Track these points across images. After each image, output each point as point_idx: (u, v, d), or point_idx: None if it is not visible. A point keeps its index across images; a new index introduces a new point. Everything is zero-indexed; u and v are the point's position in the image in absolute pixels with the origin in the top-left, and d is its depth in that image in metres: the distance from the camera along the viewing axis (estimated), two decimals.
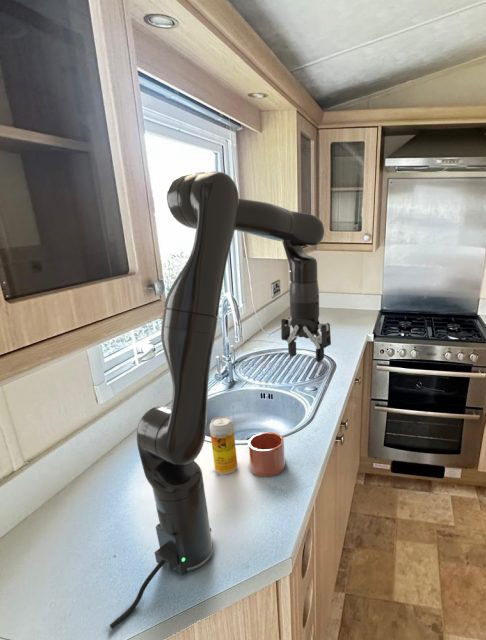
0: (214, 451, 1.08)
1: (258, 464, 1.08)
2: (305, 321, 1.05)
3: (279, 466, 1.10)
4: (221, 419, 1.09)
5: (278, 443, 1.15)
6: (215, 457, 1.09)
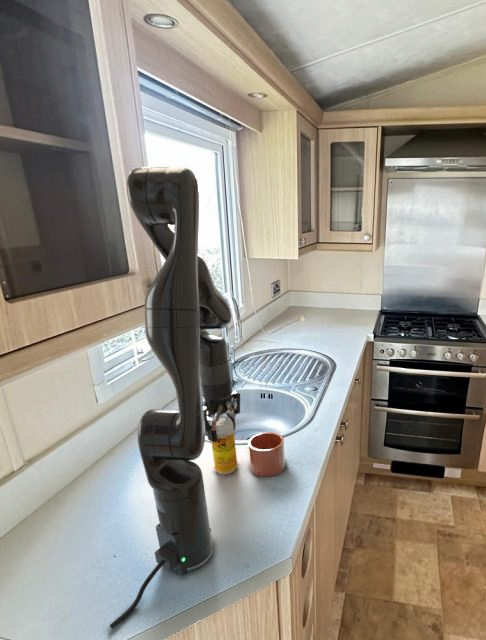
0: (214, 451, 1.08)
1: (258, 464, 1.08)
2: None
3: (279, 466, 1.10)
4: (221, 419, 1.09)
5: (278, 443, 1.15)
6: (215, 457, 1.09)
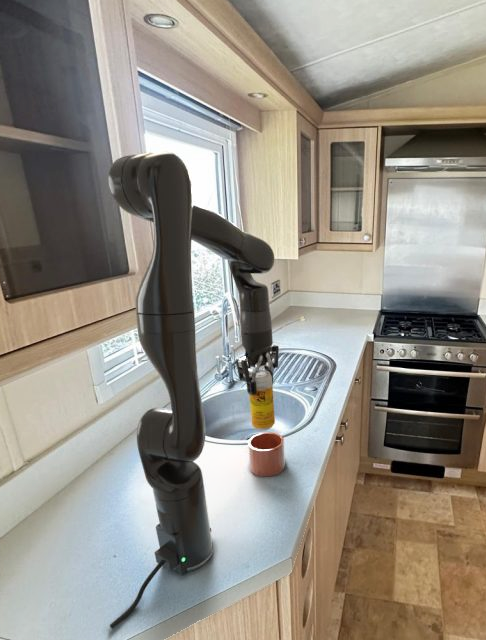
0: (253, 405, 1.04)
1: (258, 464, 1.08)
2: None
3: (279, 466, 1.10)
4: (259, 372, 1.05)
5: (278, 443, 1.15)
6: (253, 411, 1.05)
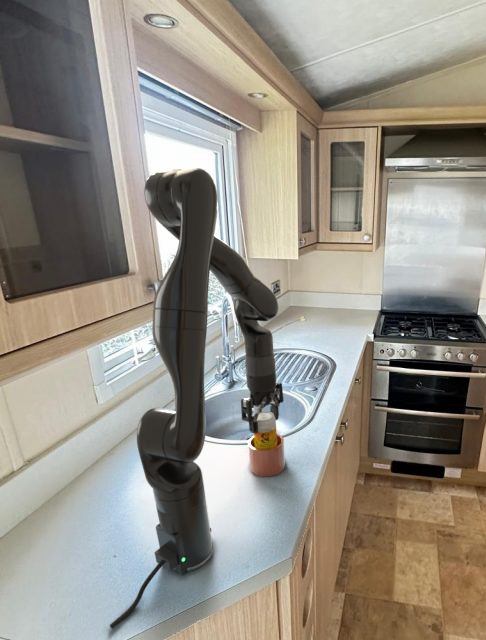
0: (257, 445, 1.09)
1: (258, 464, 1.08)
2: None
3: (279, 466, 1.10)
4: (264, 414, 1.09)
5: (278, 443, 1.15)
6: None
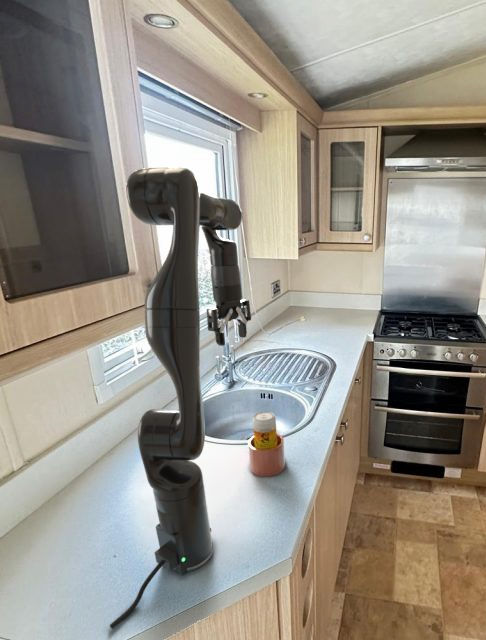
0: (257, 445, 1.09)
1: (258, 464, 1.08)
2: None
3: (279, 466, 1.10)
4: (264, 414, 1.09)
5: (278, 443, 1.15)
6: None
